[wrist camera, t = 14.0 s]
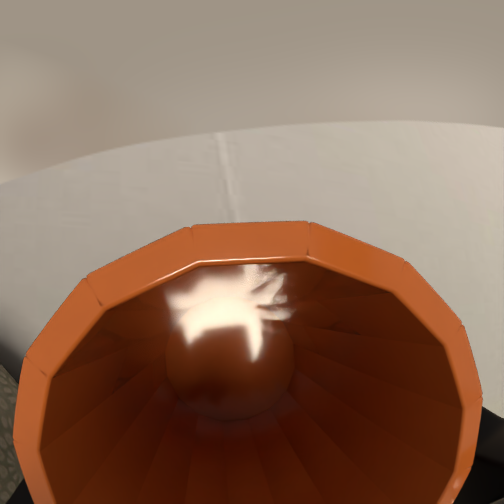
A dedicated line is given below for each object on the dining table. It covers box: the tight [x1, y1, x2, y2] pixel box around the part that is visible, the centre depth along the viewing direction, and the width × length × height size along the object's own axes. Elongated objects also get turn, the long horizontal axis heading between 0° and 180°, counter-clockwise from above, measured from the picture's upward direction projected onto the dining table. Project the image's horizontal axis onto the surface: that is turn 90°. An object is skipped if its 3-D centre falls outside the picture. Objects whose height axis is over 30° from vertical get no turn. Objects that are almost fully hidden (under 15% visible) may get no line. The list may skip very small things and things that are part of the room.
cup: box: [13, 221, 483, 504], centre depth 9 cm, size 7×7×12 cm
